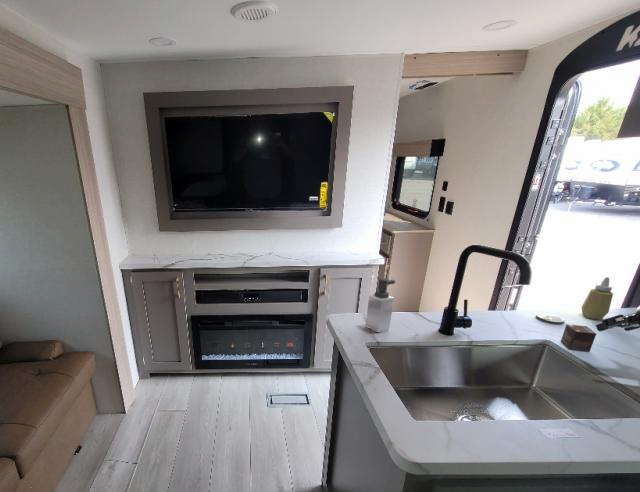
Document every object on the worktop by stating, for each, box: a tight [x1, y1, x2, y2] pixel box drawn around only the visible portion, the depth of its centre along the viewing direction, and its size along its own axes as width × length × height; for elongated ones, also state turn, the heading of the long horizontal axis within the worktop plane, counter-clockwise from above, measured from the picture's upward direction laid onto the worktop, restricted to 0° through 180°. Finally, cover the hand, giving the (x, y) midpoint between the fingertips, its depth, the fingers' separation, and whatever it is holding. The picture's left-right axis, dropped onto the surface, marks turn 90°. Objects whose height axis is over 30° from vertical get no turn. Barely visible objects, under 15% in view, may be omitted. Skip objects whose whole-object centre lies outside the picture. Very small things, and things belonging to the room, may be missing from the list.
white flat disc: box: [535, 312, 566, 325], centre depth 138 cm, size 9×9×1 cm
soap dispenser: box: [365, 277, 396, 333], centre depth 133 cm, size 6×9×22 cm
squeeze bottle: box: [581, 276, 614, 321], centre depth 136 cm, size 8×8×18 cm
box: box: [560, 323, 597, 352], centre depth 118 cm, size 6×6×7 cm
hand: (611, 328), depth 107 cm, fingers open, 8 cm apart
